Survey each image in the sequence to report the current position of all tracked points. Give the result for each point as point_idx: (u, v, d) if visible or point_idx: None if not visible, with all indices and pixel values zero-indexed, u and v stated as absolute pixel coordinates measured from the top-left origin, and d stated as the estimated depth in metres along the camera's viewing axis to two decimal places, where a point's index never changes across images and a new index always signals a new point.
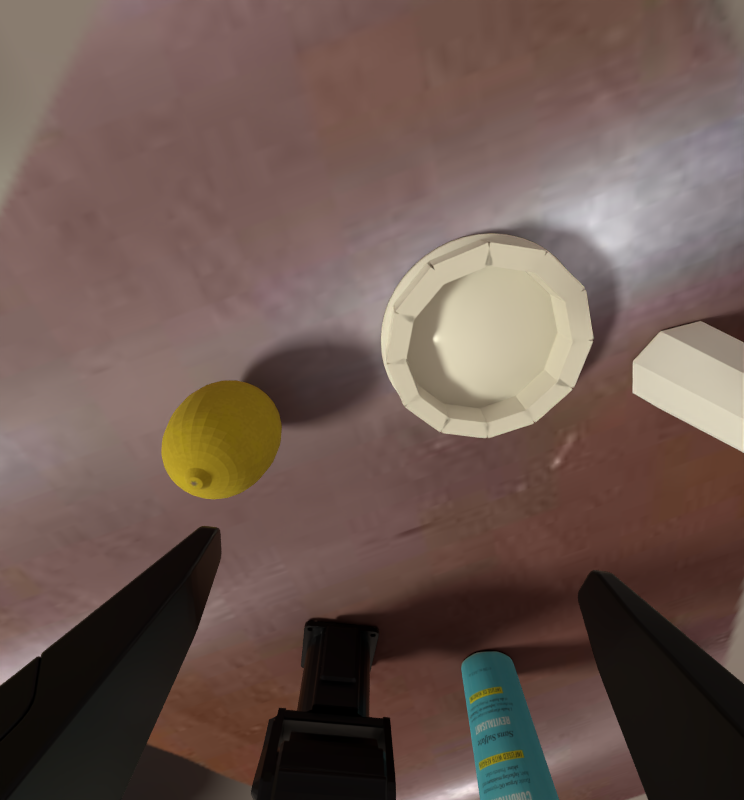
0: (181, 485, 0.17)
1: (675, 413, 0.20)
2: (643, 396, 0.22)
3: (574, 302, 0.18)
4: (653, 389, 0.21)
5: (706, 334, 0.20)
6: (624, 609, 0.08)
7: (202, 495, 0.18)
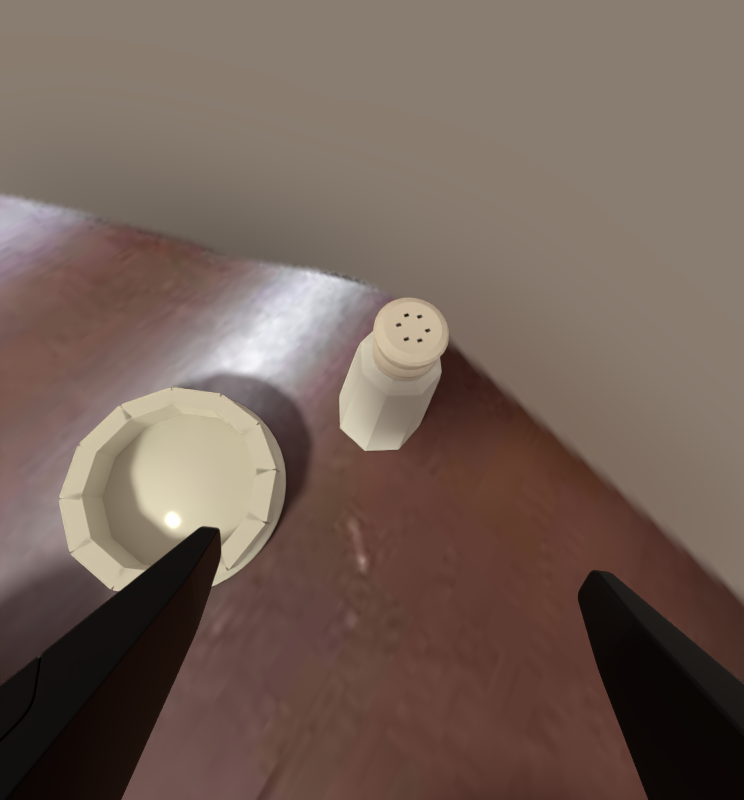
0: None
1: (370, 433, 0.20)
2: (364, 445, 0.22)
3: (220, 406, 0.21)
4: (356, 433, 0.22)
5: None
6: (624, 609, 0.08)
7: None
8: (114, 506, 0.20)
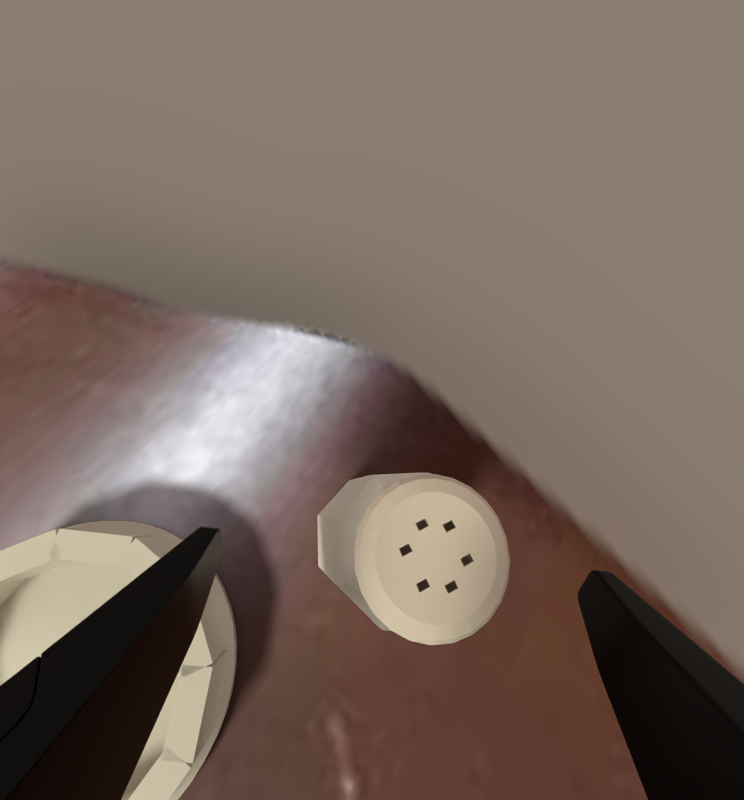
0: None
1: None
2: None
3: (131, 559, 0.14)
4: None
5: (340, 491, 0.16)
6: (624, 609, 0.08)
7: None
8: None
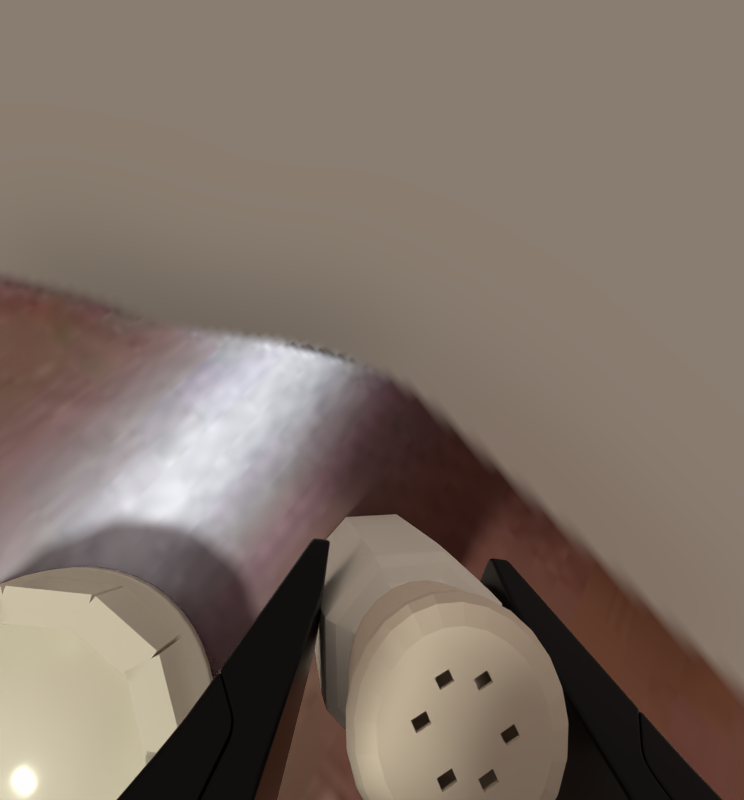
0: None
1: None
2: None
3: (89, 622, 0.12)
4: None
5: (336, 535, 0.14)
6: (507, 597, 0.08)
7: None
8: None
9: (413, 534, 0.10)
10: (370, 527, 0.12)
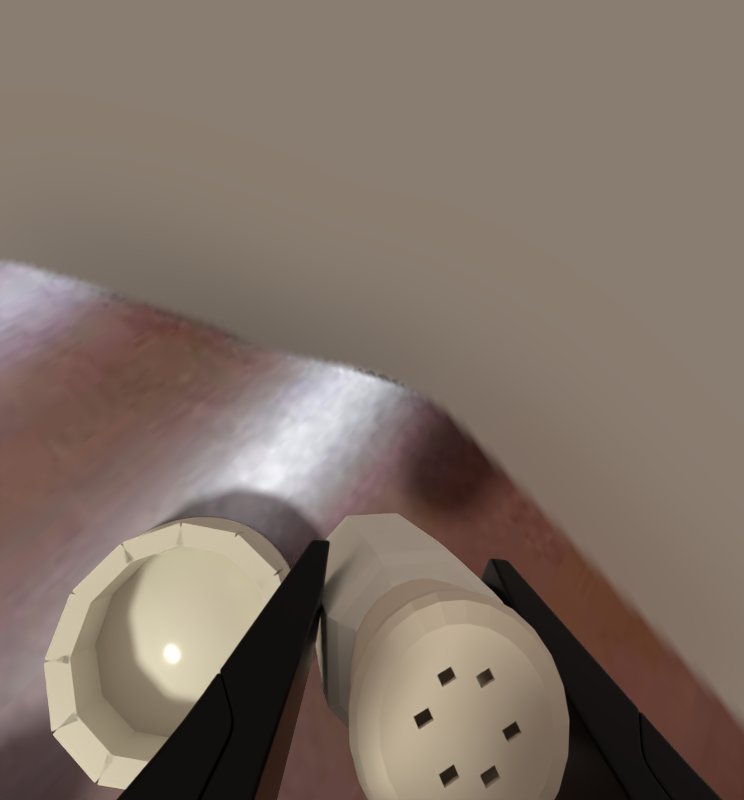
0: None
1: None
2: None
3: (234, 550, 0.18)
4: None
5: (336, 533, 0.14)
6: (507, 597, 0.08)
7: None
8: (108, 656, 0.18)
9: (414, 533, 0.10)
10: (371, 526, 0.12)
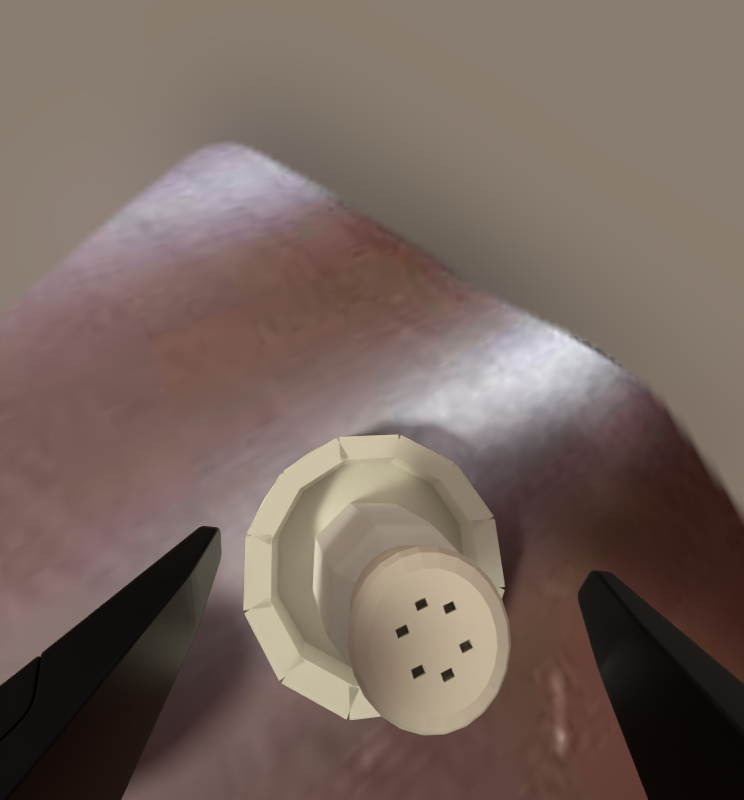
0: None
1: None
2: None
3: (451, 479, 0.16)
4: None
5: (340, 517, 0.16)
6: (624, 609, 0.08)
7: None
8: (289, 553, 0.16)
9: (408, 515, 0.11)
10: (371, 510, 0.13)
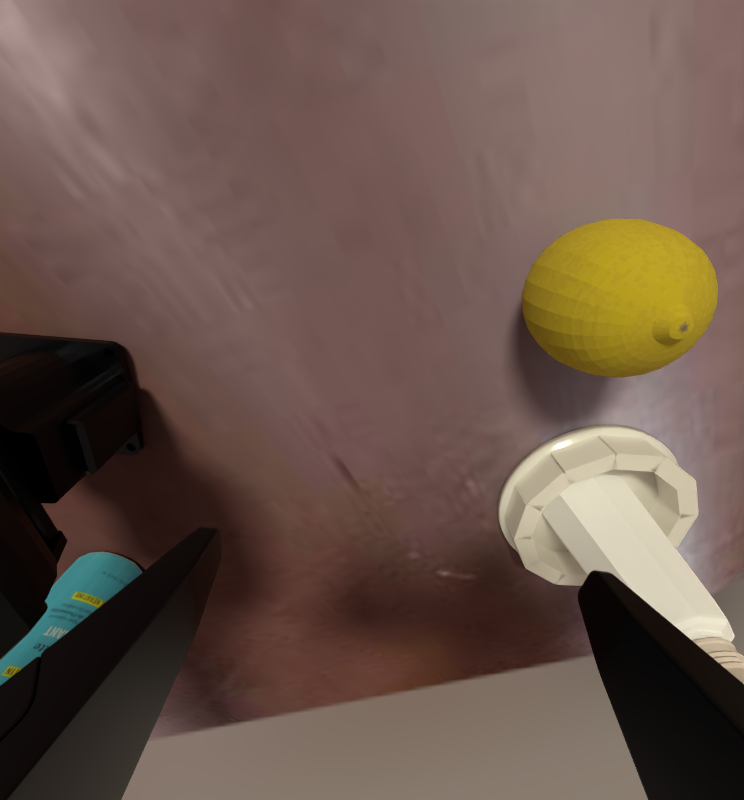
0: (657, 291, 0.11)
1: (589, 530, 0.20)
2: (565, 498, 0.22)
3: None
4: (585, 501, 0.21)
5: None
6: (624, 609, 0.08)
7: (626, 318, 0.11)
8: None
9: None
10: None
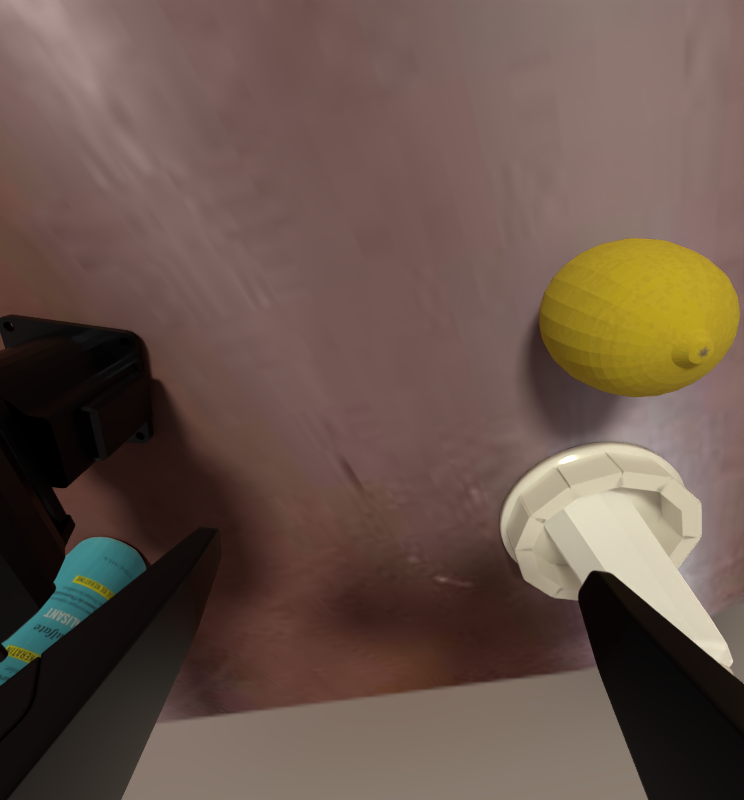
0: (679, 314, 0.11)
1: (591, 546, 0.20)
2: (569, 512, 0.22)
3: None
4: (588, 517, 0.21)
5: None
6: (624, 609, 0.08)
7: (646, 339, 0.11)
8: None
9: None
10: None
